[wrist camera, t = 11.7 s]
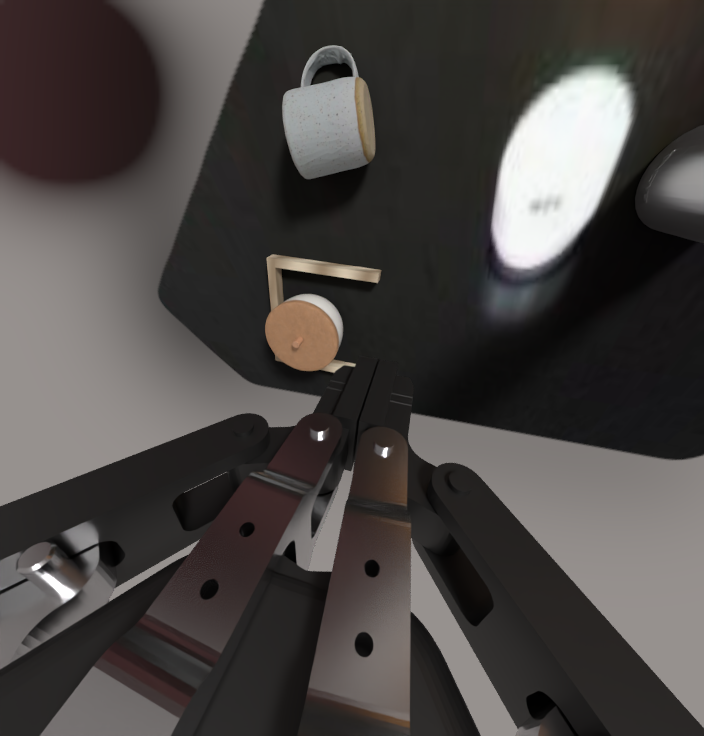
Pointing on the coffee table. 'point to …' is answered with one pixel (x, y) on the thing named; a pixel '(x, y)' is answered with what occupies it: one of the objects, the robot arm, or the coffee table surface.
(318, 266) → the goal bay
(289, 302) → the lidded jar
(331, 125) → the ceramic mug
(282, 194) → the coffee table surface
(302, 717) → the robot arm
